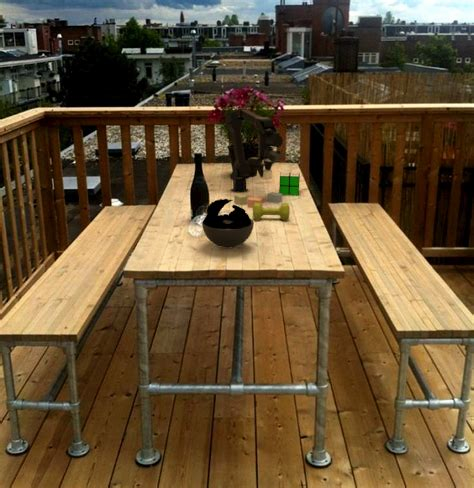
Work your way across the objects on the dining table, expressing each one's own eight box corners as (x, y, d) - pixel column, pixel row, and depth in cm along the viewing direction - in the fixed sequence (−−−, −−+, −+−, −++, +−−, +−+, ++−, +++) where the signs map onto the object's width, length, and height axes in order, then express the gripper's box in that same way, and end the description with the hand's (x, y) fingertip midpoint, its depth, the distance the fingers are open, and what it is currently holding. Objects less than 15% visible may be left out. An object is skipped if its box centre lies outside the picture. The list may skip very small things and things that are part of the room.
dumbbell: (288, 216, 286) (289, 201, 284) (289, 222, 279) (290, 206, 276) (252, 216, 287) (252, 201, 284) (252, 221, 279) (252, 206, 277)
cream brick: (257, 178, 311) (257, 170, 310) (262, 176, 314) (262, 169, 313) (266, 179, 308) (266, 171, 306) (271, 178, 311) (271, 170, 309)
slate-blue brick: (267, 201, 311) (267, 193, 309) (272, 199, 314) (272, 192, 312) (277, 203, 307) (277, 195, 306) (282, 201, 310) (282, 194, 309)
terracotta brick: (247, 207, 300) (247, 199, 299) (250, 205, 304) (250, 197, 302) (259, 208, 298) (259, 200, 297) (262, 206, 302) (262, 198, 301)
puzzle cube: (299, 190, 330) (299, 172, 327) (298, 195, 321) (299, 176, 318) (279, 190, 331) (280, 171, 328) (279, 195, 322) (279, 176, 318)
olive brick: (234, 202, 309) (234, 194, 307) (241, 201, 310) (241, 193, 309) (239, 205, 303) (239, 197, 302) (247, 204, 305) (247, 196, 304)
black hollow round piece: (204, 237, 257) (203, 193, 251) (253, 238, 257) (254, 193, 251) (200, 254, 239) (199, 207, 232) (253, 255, 238) (253, 207, 232)
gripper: (264, 149, 294) (264, 181, 299) (289, 144, 307) (289, 175, 312) (247, 146, 301) (247, 178, 306) (272, 141, 314) (271, 172, 319)
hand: (264, 176), depth 311 cm, fingers closed on cream brick, 4 cm apart
